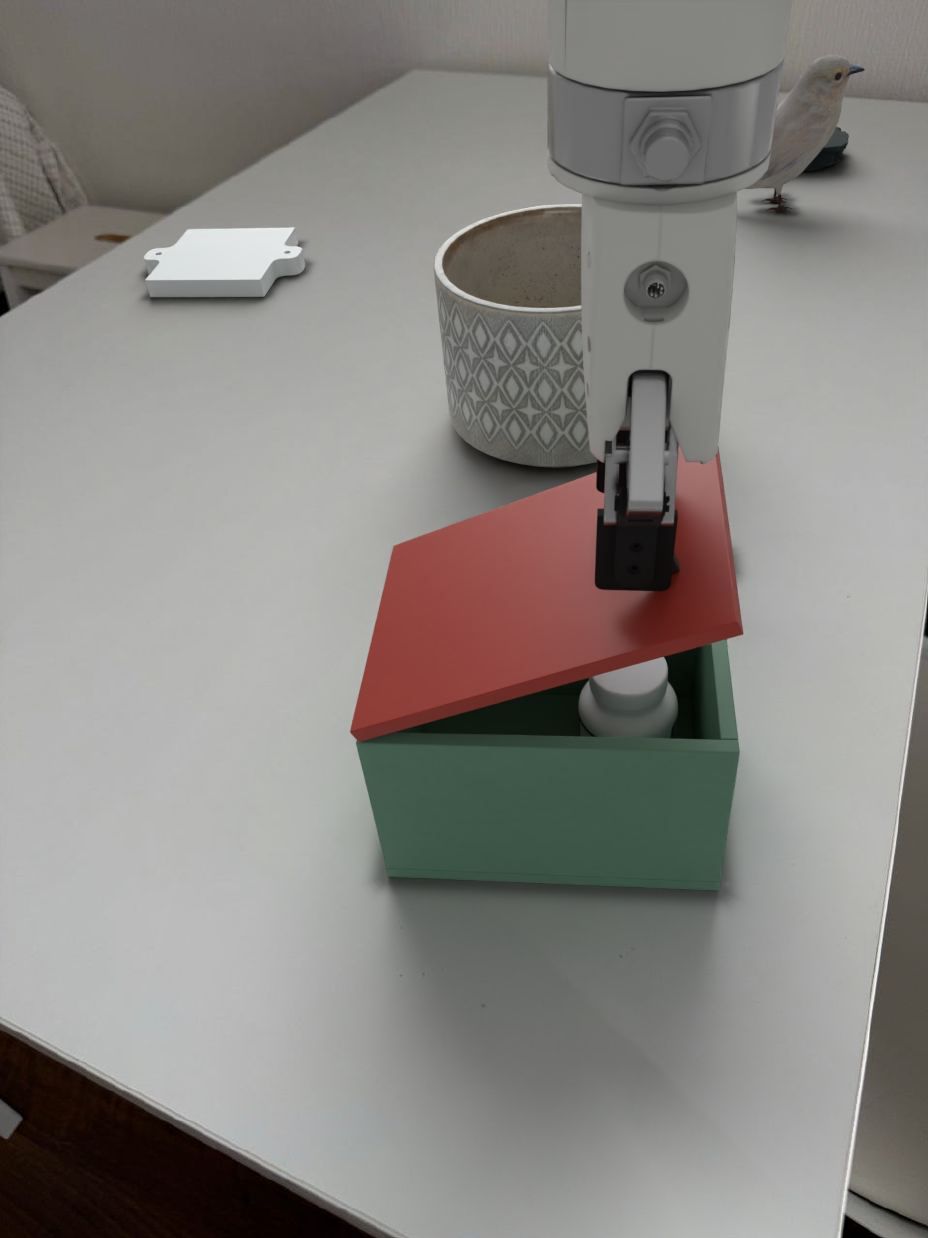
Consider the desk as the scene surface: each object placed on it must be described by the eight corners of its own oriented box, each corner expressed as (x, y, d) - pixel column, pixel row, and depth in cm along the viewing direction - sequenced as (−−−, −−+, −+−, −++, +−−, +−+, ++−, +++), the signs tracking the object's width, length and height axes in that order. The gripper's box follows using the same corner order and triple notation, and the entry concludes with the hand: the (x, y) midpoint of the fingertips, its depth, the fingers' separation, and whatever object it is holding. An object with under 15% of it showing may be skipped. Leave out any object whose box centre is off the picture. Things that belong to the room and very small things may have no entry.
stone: (742, 148, 128) (744, 124, 126) (844, 146, 126) (848, 121, 124) (743, 173, 122) (745, 148, 120) (849, 172, 120) (853, 145, 118)
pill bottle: (624, 724, 62) (627, 616, 56) (692, 774, 59) (703, 665, 52) (560, 773, 59) (556, 666, 53) (627, 828, 56) (631, 721, 50)
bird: (848, 209, 113) (874, 58, 102) (723, 219, 114) (736, 70, 103) (837, 192, 116) (861, 44, 106) (715, 201, 117) (728, 56, 107)
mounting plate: (319, 243, 118) (316, 226, 117) (287, 296, 109) (283, 279, 108) (172, 245, 121) (167, 229, 120) (128, 297, 112) (123, 280, 111)
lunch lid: (718, 441, 51) (685, 366, 48) (744, 635, 41) (705, 553, 39) (400, 555, 58) (356, 495, 56) (358, 742, 49) (303, 680, 46)
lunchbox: (702, 697, 64) (717, 556, 56) (718, 891, 54) (740, 753, 46) (420, 692, 66) (397, 556, 58) (387, 877, 56) (355, 743, 49)
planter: (407, 420, 89) (384, 260, 80) (562, 340, 97) (559, 185, 87) (556, 512, 78) (551, 339, 68) (718, 413, 86) (735, 245, 76)
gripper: (811, 223, 28) (731, 677, 40) (749, 38, 40) (702, 430, 53) (534, 226, 29) (538, 671, 41) (556, 45, 41) (555, 429, 54)
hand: (630, 532), depth 47 cm, fingers closed on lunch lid, 6 cm apart
